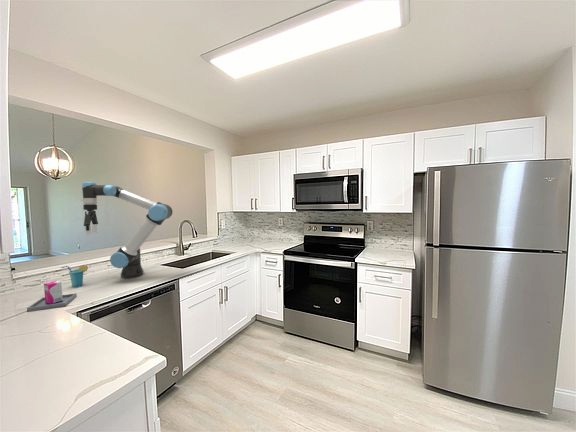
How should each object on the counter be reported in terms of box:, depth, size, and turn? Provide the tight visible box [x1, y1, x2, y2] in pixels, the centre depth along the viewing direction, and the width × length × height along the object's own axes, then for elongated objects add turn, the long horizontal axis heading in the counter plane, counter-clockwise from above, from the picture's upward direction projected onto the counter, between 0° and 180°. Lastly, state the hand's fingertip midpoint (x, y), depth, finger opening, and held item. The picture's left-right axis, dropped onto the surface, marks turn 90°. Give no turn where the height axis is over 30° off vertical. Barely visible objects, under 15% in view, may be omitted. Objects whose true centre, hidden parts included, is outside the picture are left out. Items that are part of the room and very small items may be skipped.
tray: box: [26, 292, 78, 313], centre depth 137 cm, size 16×16×2 cm
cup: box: [60, 264, 89, 288], centre depth 165 cm, size 14×8×15 cm, turn 129°
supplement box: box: [43, 280, 63, 305], centre depth 137 cm, size 6×6×12 cm
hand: (91, 234), depth 171 cm, fingers open, 13 cm apart
